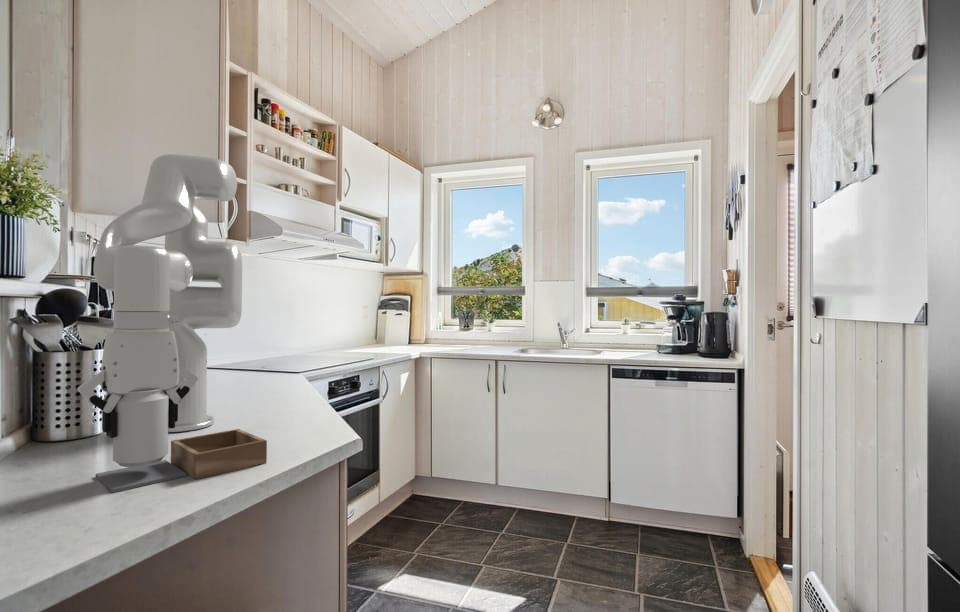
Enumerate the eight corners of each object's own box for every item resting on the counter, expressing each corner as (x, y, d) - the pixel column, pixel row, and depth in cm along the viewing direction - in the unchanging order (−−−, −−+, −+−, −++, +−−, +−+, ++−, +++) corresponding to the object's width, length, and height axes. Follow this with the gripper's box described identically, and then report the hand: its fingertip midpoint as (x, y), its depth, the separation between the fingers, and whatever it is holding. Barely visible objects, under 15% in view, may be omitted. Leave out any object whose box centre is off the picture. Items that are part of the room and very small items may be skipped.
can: (140, 470, 78) (141, 392, 78) (100, 466, 79) (101, 390, 79) (179, 456, 85) (179, 384, 85) (141, 452, 87) (142, 382, 87)
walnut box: (170, 463, 89) (170, 440, 89) (238, 449, 98) (238, 428, 98) (195, 479, 81) (196, 454, 81) (266, 462, 90) (266, 440, 90)
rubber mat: (95, 476, 82) (95, 473, 82) (165, 462, 89) (165, 459, 89) (112, 493, 75) (112, 489, 75) (186, 476, 83) (186, 473, 83)
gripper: (192, 320, 91) (191, 419, 91) (69, 323, 78) (68, 437, 78) (208, 322, 86) (207, 426, 86) (80, 324, 73) (79, 447, 73)
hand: (141, 430), depth 82 cm, fingers closed on can, 7 cm apart
